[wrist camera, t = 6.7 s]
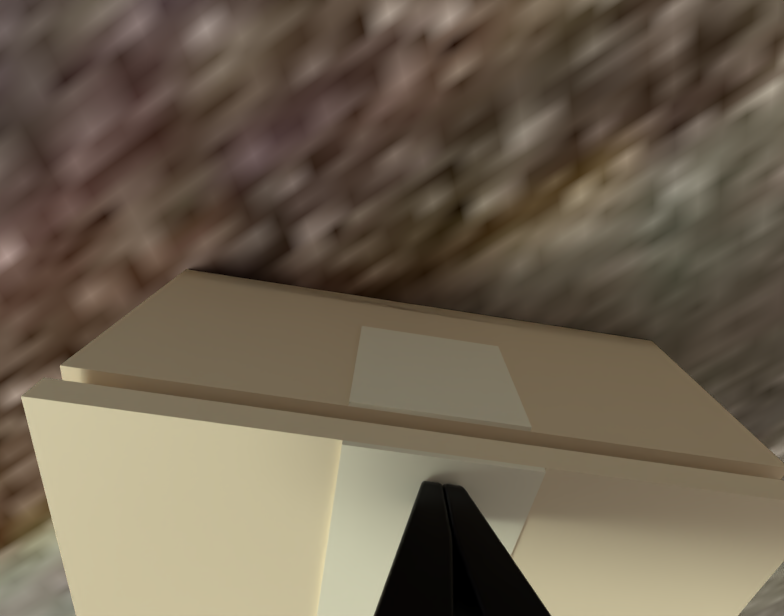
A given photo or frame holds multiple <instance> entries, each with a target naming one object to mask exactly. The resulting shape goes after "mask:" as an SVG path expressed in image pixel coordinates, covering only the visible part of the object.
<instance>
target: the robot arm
mask: <svg viewBox="0 0 784 616" xmlns="http://www.w3.org/2000/svg"><path fill="white" fill-rule="evenodd" d="M374 616H551V614H550V613H549V611H548V610H547V609H546V607H545V606H544V604H543V603H542V601H541V600H540V598H539V597H538V595H537V594H536V592H535V591H534V589H533V588H532V586H531V585H530V584H529V582H528V581H527V579H526V578H525V576H524V575H523V573H522V572H521V570H520V569H519V567H518V566H517V564H516V563H515V562H514V560H513V559H512V557H511V556H510V554H509V553H508V551H507V550H506V548H505V547H504V545H503V544H502V542H501V541H500V539H499V538H498V537H497V535H496V534H495V532H494V531H493V529H492V528H491V526H490V525H489V523H488V522H487V520H486V519H485V517H484V516H483V514H482V513H481V512H480V510H479V509H478V507H477V506H476V504H475V503H474V501H473V500H472V498H471V497H470V495H469V494H468V492H467V491H466V490H465V488H464V487H462V486H460V485H453V484H443V485H442V484H441V483H438V482H431V481H423V482H422V483H421V485H420V488H419V491H418V494H417V496H416V499H415V502H414V505H413V507H412V510H411V513H410V516H409V519H408V521H407V524H406V527H405V530H404V532H403V535H402V538H401V541H400V544H399V546H398V549H397V552H396V555H395V557H394V560H393V563H392V566H391V569H390V571H389V574H388V577H387V580H386V582H385V585H384V588H383V591H382V594H381V596H380V599H379V602H378V605H377V607H376V610H375V613H374Z"/></svg>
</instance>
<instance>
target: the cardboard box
mask: <svg viewBox="0 0 784 616" xmlns="http://www.w3.org/2000/svg"><path fill="white" fill-rule="evenodd" d="M60 368H61V374H62V380H65V381H72V382H79V383H86V384H94V385H101V386H108V387H115V388H122V389H130V390H137V391H144V392H151V393H158V394H166V395H173V396H180V397H187V398H194V399H202V400H209V401H216V402H223V403H230V404H238V405H245V406H252V407H259V408H266V409H274V410H281V411H288V412H295V413H302V414H310V415H317V416H324V417H331V418H338V419H345V420H353V421H360V422H367V423H374V424H381V425H389V426H396V427H403V428H410V429H417V430H425V431H432V432H439V433H446V434H453V435H461V436H468V437H475V438H482V439H489V440H497V441H504V442H511V443H518V444H525V445H533V446H540V447H547V448H554V449H561V450H569V451H576V452H583V453H590V454H597V455H604V456H612V457H619V458H626V459H633V460H640V461H648V462H655V463H662V464H669V465H676V466H684V467H691V468H698V469H705V470H712V471H720V472H727V473H734V474H741V475H748V476H756V477H763V478H770V479H777V480H781V479H782V477H783V476H784V463H783V462H782V461H781V460H780V459H779V458H778V457H777V456H776V455H774V454H773V453H772V452H771V451H770V450H769V449H768V448H767V447H766V446H765V445H764V444H763V443H761V442H760V441H759V440H758V439H757V438H756V437H755V436H754V435H753V434H752V433H751V432H750V431H748V430H747V429H746V428H745V427H744V426H743V425H742V424H741V423H740V422H739V421H738V420H737V419H736V418H734V417H733V416H732V415H731V414H730V413H729V412H728V411H727V410H726V409H725V408H724V407H723V406H721V405H720V404H719V403H718V402H717V401H716V400H715V399H714V398H713V397H712V396H711V395H710V394H709V393H707V392H706V391H705V390H704V389H703V388H702V387H701V386H700V385H699V384H698V383H697V382H696V381H694V380H693V379H692V378H691V377H690V376H689V375H688V374H687V373H686V372H685V371H684V370H683V369H682V368H680V367H679V366H678V365H677V364H676V363H675V362H674V361H673V360H672V359H671V358H670V357H669V356H667V355H666V354H665V353H664V352H663V351H662V350H661V349H660V348H659V347H658V346H657V345H656V344H655V343H653V342H652V341H650V340H643V339H637V338H630V337H623V336H617V335H610V334H604V333H597V332H591V331H584V330H578V329H571V328H565V327H558V326H552V325H545V324H539V323H532V322H526V321H519V320H513V319H506V318H500V317H493V316H487V315H480V314H474V313H467V312H461V311H454V310H448V309H441V308H435V307H428V306H422V305H415V304H409V303H402V302H396V301H389V300H383V299H376V298H370V297H363V296H357V295H350V294H344V293H337V292H331V291H324V290H318V289H311V288H305V287H298V286H292V285H285V284H279V283H272V282H266V281H259V280H253V279H246V278H240V277H233V276H227V275H220V274H214V273H207V272H201V271H194V270H188V269H186V270H185V271H183V272H182V273H181V274H179V275H178V276H177V277H176V278H174V279H173V280H172V281H170V282H169V283H168V284H166V285H165V286H164V287H162V288H161V289H160V290H158V291H157V292H156V293H155V294H153V295H152V296H151V297H149V298H148V299H147V300H145V301H144V302H143V303H141V304H140V305H139V306H137V307H136V308H135V309H134V310H132V311H131V312H130V313H128V314H127V315H126V316H124V317H123V318H122V319H120V320H119V321H118V322H116V323H115V324H114V325H113V326H111V327H110V328H109V329H107V330H106V331H105V332H103V333H102V334H101V335H99V336H98V337H97V338H95V339H94V340H93V341H92V342H90V343H89V344H88V345H86V346H85V347H84V348H82V349H81V350H80V351H78V352H77V353H76V354H74V355H73V356H72V357H71V358H69V359H68V360H67V361H65V362H64V363H63V364H61V365H60Z"/></svg>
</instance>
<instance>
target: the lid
mask: <svg viewBox="0 0 784 616" xmlns="http://www.w3.org/2000/svg"><path fill="white" fill-rule="evenodd" d="M21 398H22V402H23V406H24V410H25V414H26V418H27V422H28V426H29V430H30V434H31V438H32V442H33V446H34V450H35V454H36V458H37V462H38V466H39V470H40V474H41V477H42V481H43V485H44V489H45V493H46V497H47V501H48V505H49V509H50V513H51V517H52V521H53V525H54V529H55V533H56V537H57V541H58V545H59V549H60V553H61V557H62V561H63V565H64V569H65V573H66V577H67V581H68V585H69V589H70V593H71V597H72V601H73V605H74V609H75V613H76V616H374V613H375V610H376V607H377V605H378V602H379V599H380V596H381V594H382V591H383V588H384V585H385V582H386V580H387V577H388V574H389V571H390V569H391V566H392V563H393V560H394V557H395V555H396V552H397V549H398V546H399V544H400V541H401V538H402V535H403V532H404V530H405V527H406V524H407V521H408V519H409V516H410V513H411V510H412V507H413V505H414V502H415V499H416V496H417V494H418V491H419V488H420V485H421V483H422V482H423V481H431V482H438V483H441V484H442V485H443V484H453V485H460V486H462V487H464V488H465V490H466V491H467V492H468V494H469V495H470V497H471V498H472V500H473V501H474V503H475V504H476V506H477V507H478V509H479V510H480V512H481V513H482V514H483V516H484V517H485V519H486V520H487V522H488V523H489V525H490V526H491V528H492V529H493V531H494V532H495V534H496V535H497V537H498V538H499V539H500V541H501V542H502V544H503V545H504V547H505V548H506V550H507V551H508V553H509V554H510V556H511V557H512V559H513V560H514V562H515V563H516V564H517V566H518V567H519V569H520V570H521V572H522V573H523V575H524V576H525V578H526V579H527V581H528V582H529V584H530V585H531V586H532V588H533V589H534V591H535V592H536V594H537V595H538V597H539V598H540V600H541V601H542V603H543V604H544V606H545V607H546V609H547V610H548V611H549V613H550V614H551V616H738V615H739V614H740V612H741V611H742V610H743V609H744V608H745V606H746V605H747V604H748V603H749V602H750V600H751V599H752V598H753V597H754V596H755V595H756V593H757V592H758V591H759V590H760V589H761V587H762V586H763V585H764V584H765V583H766V581H767V580H768V579H769V578H770V577H771V575H772V574H773V573H774V572H775V571H776V570H777V568H778V567H779V566H780V565H781V564H782V562H783V561H784V480H777V479H770V478H763V477H756V476H748V475H741V474H734V473H727V472H720V471H712V470H705V469H698V468H691V467H684V466H676V465H669V464H662V463H655V462H648V461H640V460H633V459H626V458H619V457H612V456H604V455H597V454H590V453H583V452H576V451H569V450H561V449H554V448H547V447H540V446H533V445H525V444H518V443H511V442H504V441H497V440H489V439H482V438H475V437H468V436H461V435H453V434H446V433H439V432H432V431H425V430H417V429H410V428H403V427H396V426H389V425H381V424H374V423H367V422H360V421H353V420H345V419H338V418H331V417H324V416H317V415H310V414H302V413H295V412H288V411H281V410H274V409H266V408H259V407H252V406H245V405H238V404H230V403H223V402H216V401H209V400H202V399H194V398H187V397H180V396H173V395H166V394H158V393H151V392H144V391H137V390H130V389H122V388H115V387H108V386H101V385H94V384H86V383H79V382H72V381H65V380H58V379H51V378H43V379H42V380H41V381H40V382H38V383H37V384H36V385H35V386H33V387H32V388H31V389H30V390H28V391H27V392H26V393H25V394H23V395H22V396H21Z"/></svg>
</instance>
